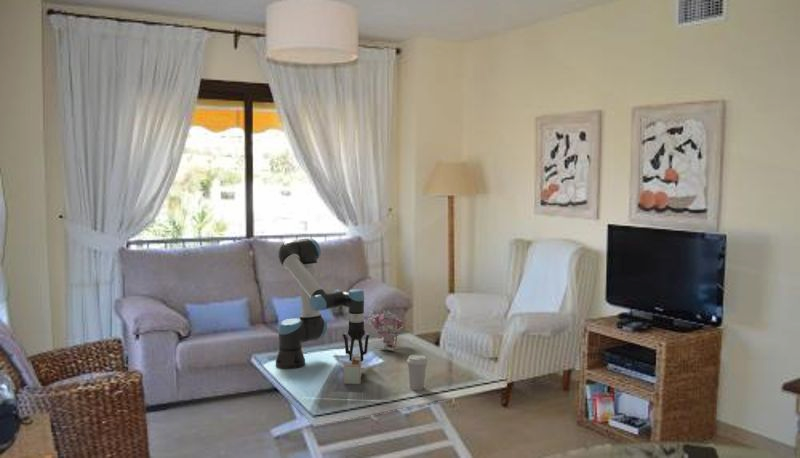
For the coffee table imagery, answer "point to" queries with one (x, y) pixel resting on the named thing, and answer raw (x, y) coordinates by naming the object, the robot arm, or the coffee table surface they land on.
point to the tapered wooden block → (357, 362)
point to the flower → (387, 327)
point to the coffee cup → (417, 371)
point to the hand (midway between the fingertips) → (356, 367)
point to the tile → (352, 374)
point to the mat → (350, 387)
